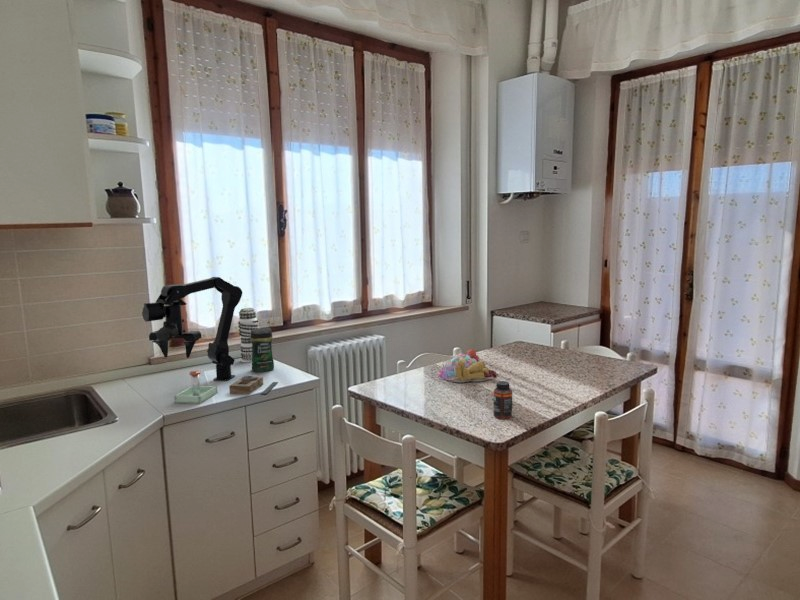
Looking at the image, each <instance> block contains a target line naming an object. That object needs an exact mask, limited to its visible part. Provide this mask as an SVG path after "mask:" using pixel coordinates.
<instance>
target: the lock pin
mask: <svg viewBox="0 0 800 600" xmlns="http://www.w3.org/2000/svg"><path fill="white" fill-rule="evenodd" d="M200 375H201V371H200V370H192V371H189V376H191V378H190V379H191V386H192V392H193V396H200V386H201V385H200Z"/></svg>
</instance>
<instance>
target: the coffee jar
mask: <svg viewBox="0 0 800 600" xmlns="http://www.w3.org/2000/svg"><path fill="white" fill-rule="evenodd" d="M273 338H274V337H273V331H272V329H271V328H270V327H267V328H258V329H253V330H251V335H250V340H251V342H252V362H251V370H252V372H256V373H257V372H258V373H260V372H268V371H272V370H273V369H274V368H275V360H274V356H273V348H272V347H273V345H272V341H273Z"/></svg>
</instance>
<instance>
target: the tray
mask: <svg viewBox="0 0 800 600" xmlns="http://www.w3.org/2000/svg"><path fill="white" fill-rule="evenodd" d="M217 394H218V386H214V385H200V396H193V392H192V385H191V386H190V387H187V388H186V389H184V390H183V391H181V392H179V393H177V394H175V395H174V396H173V398H174V404H196V405H197V404H198V405H200V404H201V405H202V403H204V402H206V401H208V400H209V399H210V398H212V397H213V396H215V395H217Z"/></svg>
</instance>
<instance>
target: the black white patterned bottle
mask: <svg viewBox="0 0 800 600" xmlns="http://www.w3.org/2000/svg"><path fill="white" fill-rule="evenodd" d="M238 314H239V315H238V317H239V318H238V322H237V324H238V328H239V329H238V332H239V333H238V334H239V338H240V359H241V362H242V363H252V342H251V340H250V335H251V330H253V329H259V328H258V327H259V325H258V324H257V323H259V321H258V320H257V310H255V308H253V307H243V308H241V309H240V310H239V312H238Z"/></svg>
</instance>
